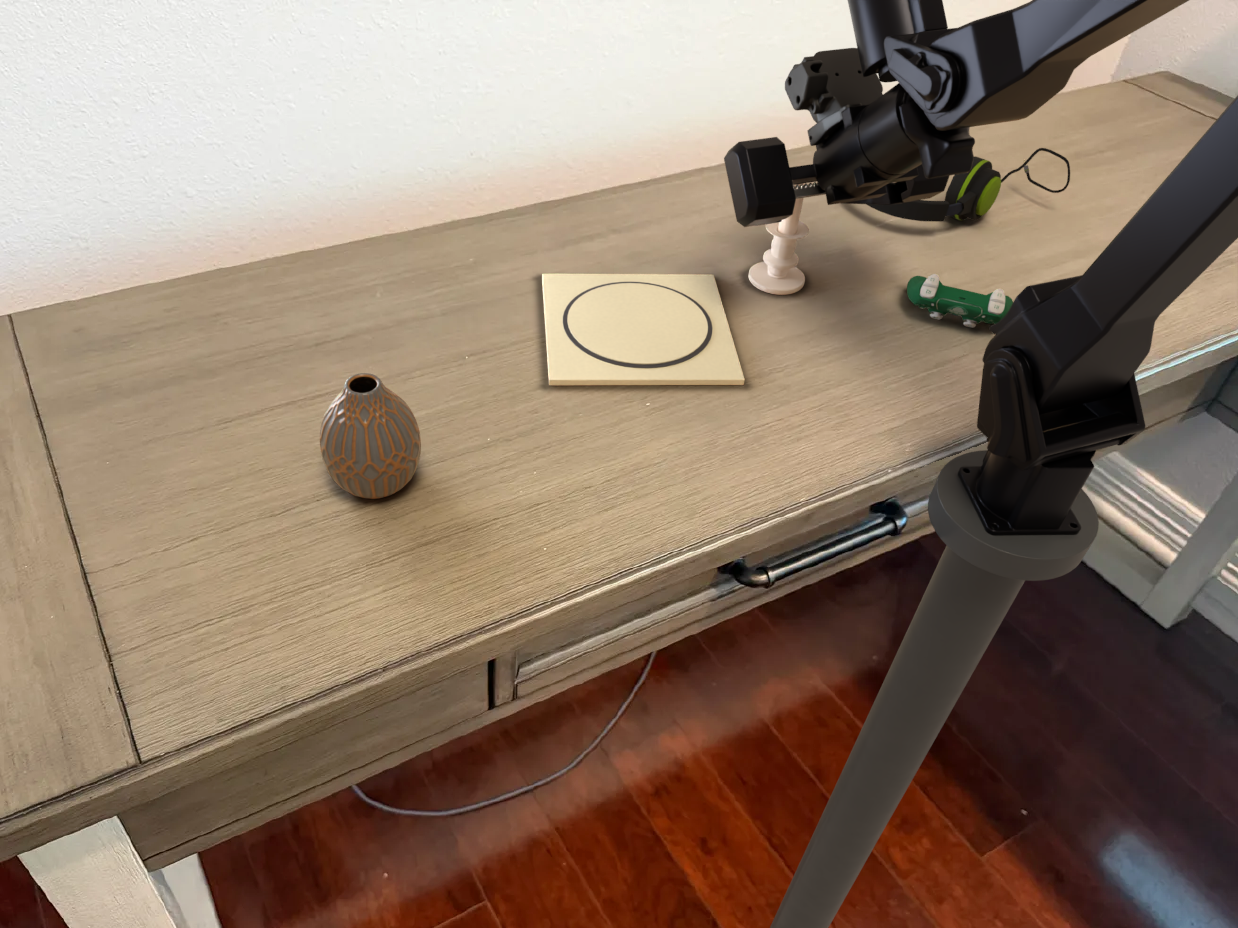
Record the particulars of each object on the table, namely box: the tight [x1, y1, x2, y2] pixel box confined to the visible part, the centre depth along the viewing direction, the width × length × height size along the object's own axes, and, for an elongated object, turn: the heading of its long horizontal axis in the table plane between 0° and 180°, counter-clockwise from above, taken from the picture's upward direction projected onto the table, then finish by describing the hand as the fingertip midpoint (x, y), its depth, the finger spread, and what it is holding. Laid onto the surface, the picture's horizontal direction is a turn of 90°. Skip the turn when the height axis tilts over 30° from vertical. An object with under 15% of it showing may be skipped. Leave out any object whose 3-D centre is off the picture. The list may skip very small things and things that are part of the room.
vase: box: [319, 372, 422, 500], centre depth 68 cm, size 7×7×9 cm
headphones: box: [865, 147, 1071, 222], centre depth 100 cm, size 16×10×20 cm
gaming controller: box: [906, 273, 1014, 328], centre depth 87 cm, size 9×4×6 cm
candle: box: [748, 183, 810, 296], centre depth 88 cm, size 5×5×10 cm
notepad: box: [541, 273, 746, 386], centre depth 85 cm, size 16×16×1 cm
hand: (788, 203), depth 87 cm, fingers open, 9 cm apart
